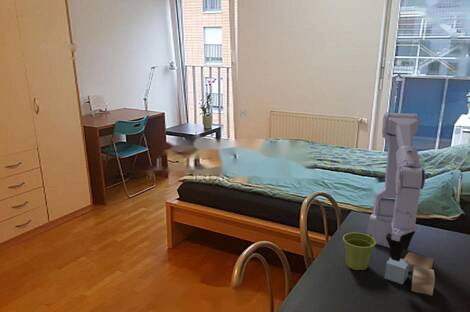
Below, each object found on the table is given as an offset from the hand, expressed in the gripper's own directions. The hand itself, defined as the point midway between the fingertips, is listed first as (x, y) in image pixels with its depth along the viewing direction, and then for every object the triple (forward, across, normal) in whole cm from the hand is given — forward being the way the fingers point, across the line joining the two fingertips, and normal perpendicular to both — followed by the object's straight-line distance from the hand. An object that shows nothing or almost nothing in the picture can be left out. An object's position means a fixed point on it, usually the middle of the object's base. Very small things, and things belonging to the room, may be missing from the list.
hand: (399, 254), depth 107 cm
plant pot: (+8, -1, +11) cm, 14 cm away
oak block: (+8, +9, -4) cm, 12 cm away
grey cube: (+8, 0, 0) cm, 8 cm away
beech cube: (+8, -1, -7) cm, 10 cm away
